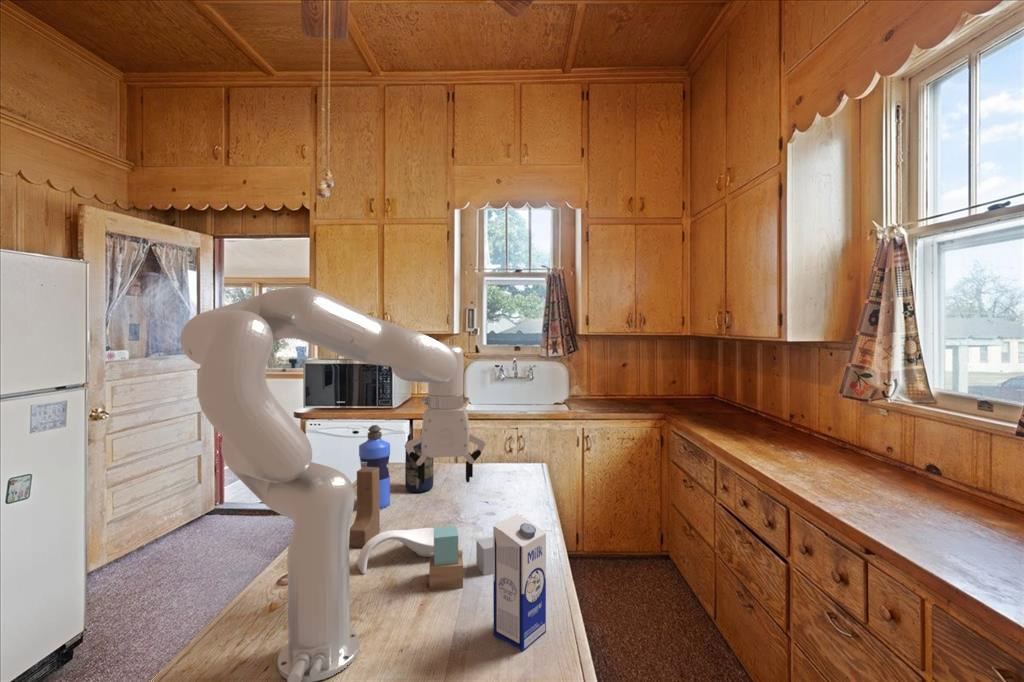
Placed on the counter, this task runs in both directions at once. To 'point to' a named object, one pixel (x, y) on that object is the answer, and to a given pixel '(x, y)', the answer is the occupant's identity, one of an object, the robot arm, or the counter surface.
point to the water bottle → (377, 461)
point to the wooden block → (366, 508)
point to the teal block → (445, 546)
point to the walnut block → (446, 574)
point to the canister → (412, 472)
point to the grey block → (484, 555)
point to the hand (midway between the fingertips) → (445, 481)
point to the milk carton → (519, 581)
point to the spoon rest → (414, 539)
